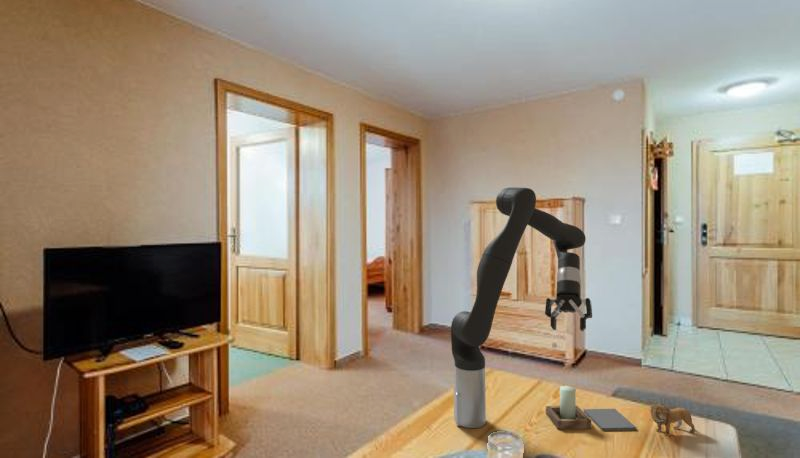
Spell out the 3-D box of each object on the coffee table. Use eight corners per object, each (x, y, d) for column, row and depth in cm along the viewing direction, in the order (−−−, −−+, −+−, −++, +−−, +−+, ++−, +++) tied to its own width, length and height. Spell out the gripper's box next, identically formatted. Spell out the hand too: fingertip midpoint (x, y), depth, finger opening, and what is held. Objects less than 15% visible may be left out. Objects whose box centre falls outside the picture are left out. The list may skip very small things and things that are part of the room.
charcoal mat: (602, 430, 120) (602, 428, 120) (583, 411, 132) (583, 409, 132) (636, 430, 120) (636, 427, 120) (614, 411, 132) (614, 408, 132)
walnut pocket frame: (558, 429, 121) (557, 421, 121) (545, 413, 131) (545, 406, 131) (591, 428, 121) (591, 420, 121) (576, 413, 131) (576, 405, 131)
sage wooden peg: (563, 424, 124) (563, 391, 124) (557, 418, 128) (557, 385, 128) (578, 424, 124) (577, 391, 124) (571, 417, 128) (571, 385, 128)
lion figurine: (661, 441, 114) (661, 409, 114) (645, 432, 119) (644, 401, 119) (700, 432, 118) (700, 401, 118) (683, 423, 123) (683, 393, 123)
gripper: (543, 279, 142) (542, 326, 135) (588, 278, 134) (589, 327, 127) (550, 287, 147) (548, 332, 140) (593, 286, 139) (594, 334, 132)
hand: (567, 330), depth 134 cm, fingers open, 8 cm apart
